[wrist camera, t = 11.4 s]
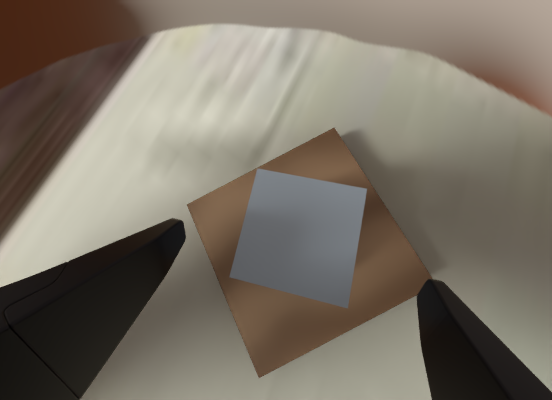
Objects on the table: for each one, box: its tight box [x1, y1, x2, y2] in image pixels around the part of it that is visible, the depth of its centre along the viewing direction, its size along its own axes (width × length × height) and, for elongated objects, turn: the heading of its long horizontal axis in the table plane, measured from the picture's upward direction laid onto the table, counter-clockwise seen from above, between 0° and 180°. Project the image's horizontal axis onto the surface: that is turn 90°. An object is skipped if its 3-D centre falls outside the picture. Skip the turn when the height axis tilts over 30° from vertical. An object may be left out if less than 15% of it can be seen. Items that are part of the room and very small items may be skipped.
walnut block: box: [187, 128, 432, 378], centre depth 18 cm, size 13×13×2 cm
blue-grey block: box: [229, 168, 367, 308], centre depth 14 cm, size 5×5×7 cm
